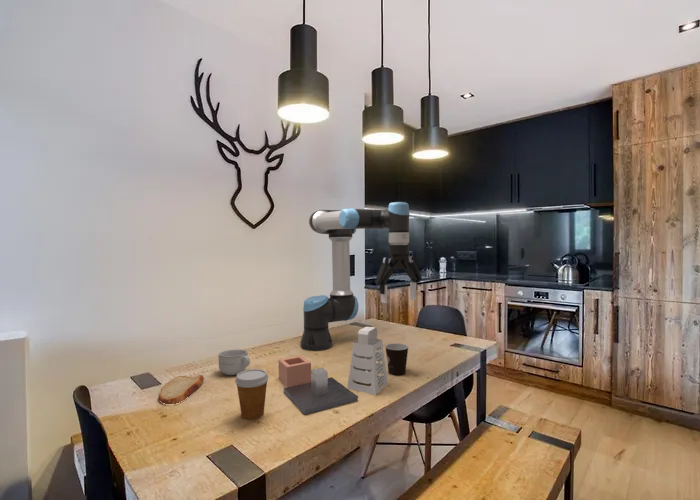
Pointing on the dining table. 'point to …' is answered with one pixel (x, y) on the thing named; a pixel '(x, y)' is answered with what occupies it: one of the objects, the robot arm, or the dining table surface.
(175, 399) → the slice of bread
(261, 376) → the disposable coffee cup
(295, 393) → the post stand
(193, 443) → the dining table surface
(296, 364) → the hollow square tube
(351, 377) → the grater
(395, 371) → the coffee mug
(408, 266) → the robot arm
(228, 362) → the teacup
